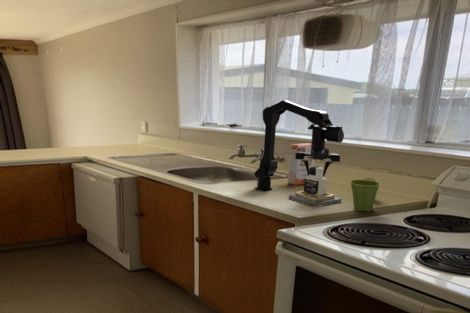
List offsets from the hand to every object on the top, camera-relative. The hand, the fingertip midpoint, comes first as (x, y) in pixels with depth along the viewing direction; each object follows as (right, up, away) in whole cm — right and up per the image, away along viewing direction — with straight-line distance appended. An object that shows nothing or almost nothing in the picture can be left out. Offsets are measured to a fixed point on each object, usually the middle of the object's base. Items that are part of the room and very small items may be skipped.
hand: (315, 176), depth 170 cm
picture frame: (0, -11, +1) cm, 11 cm away
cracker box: (-1, -6, +36) cm, 37 cm away
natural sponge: (+24, -11, +7) cm, 27 cm away
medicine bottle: (0, -8, +1) cm, 8 cm away
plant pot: (+17, -13, -11) cm, 24 cm away
